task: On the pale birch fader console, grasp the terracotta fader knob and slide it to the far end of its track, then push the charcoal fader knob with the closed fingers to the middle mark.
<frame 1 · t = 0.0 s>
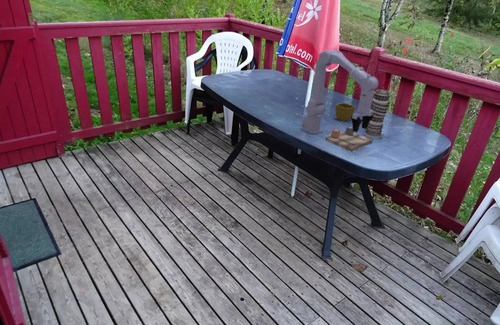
hand: (359, 129, 175), 10 cm above the table, tool pointing down, fingers open, 7 cm apart
console: (348, 141, 187), on the table
fader A: (335, 133, 186), point 4 cm above the table, slide at 0.0 cm
fader B: (350, 130, 191), point 4 cm above the table, slide at 2.0 cm
flower pot: (342, 120, 216), on the table
banded round tower: (372, 135, 197), on the table
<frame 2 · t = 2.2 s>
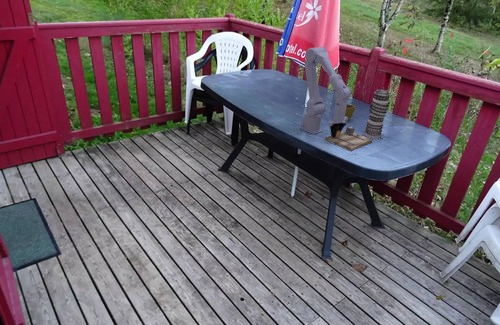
hand: (335, 136, 187), 2 cm above the table, tool pointing down, fingers closed on fader A, 3 cm apart
fader A: (335, 133, 186), point 4 cm above the table, slide at 0.0 cm, touching gripper
everything else where it was.
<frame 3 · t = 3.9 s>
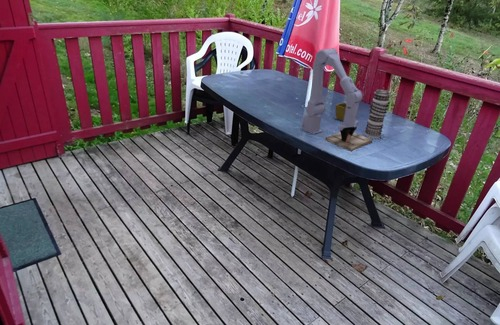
hand: (345, 140, 182), 2 cm above the table, tool pointing down, fingers closed on fader A, 3 cm apart
fader A: (346, 137, 182), point 4 cm above the table, slide at 6.5 cm, touching gripper
everything else where it was.
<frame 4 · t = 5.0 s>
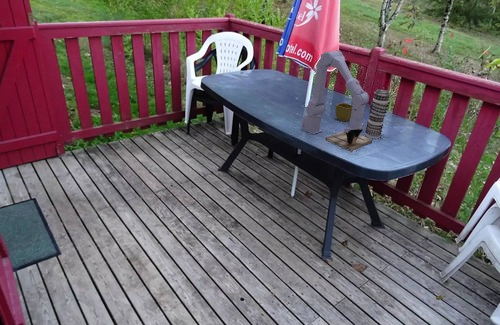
hand: (351, 142, 180), 2 cm above the table, tool pointing down, fingers closed on fader A, 3 cm apart
fader A: (351, 139, 180), point 4 cm above the table, slide at 10.0 cm, touching gripper
everything else where it was.
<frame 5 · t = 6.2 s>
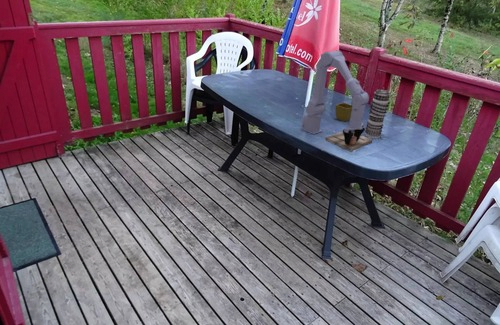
hand: (351, 142, 180), 2 cm above the table, tool pointing down, fingers open, 7 cm apart
fader A: (351, 139, 180), point 4 cm above the table, slide at 10.0 cm
everything else where it was.
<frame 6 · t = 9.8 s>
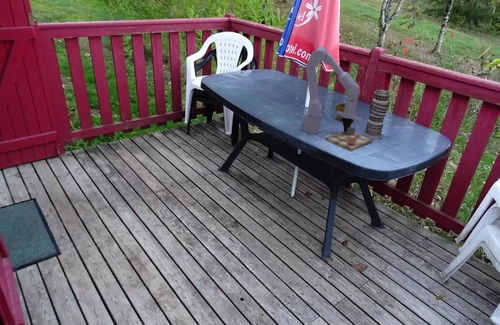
hand: (345, 131, 193), 2 cm above the table, tool pointing down, fingers closed
fader B: (351, 130, 190), point 4 cm above the table, slide at 2.6 cm, touching gripper
everything else where it was.
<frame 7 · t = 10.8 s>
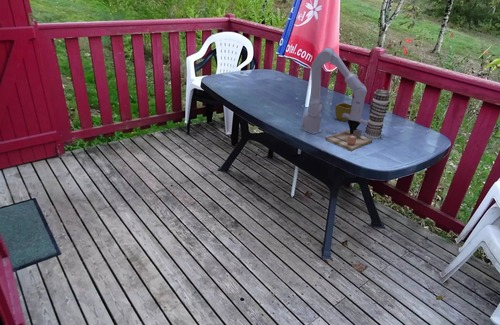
hand: (351, 133, 190), 2 cm above the table, tool pointing down, fingers closed
fader B: (357, 133, 188), point 4 cm above the table, slide at 6.5 cm, touching gripper
everything else where it was.
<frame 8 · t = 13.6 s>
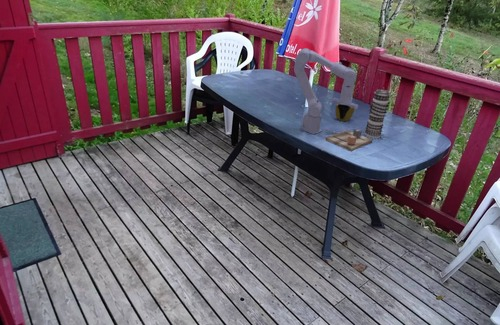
hand: (342, 118, 190), 9 cm above the table, tool pointing down, fingers closed
fader B: (357, 133, 188), point 4 cm above the table, slide at 6.5 cm
everything else where it was.
at the end: fader A slide at 10.0 cm; fader B slide at 6.5 cm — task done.
